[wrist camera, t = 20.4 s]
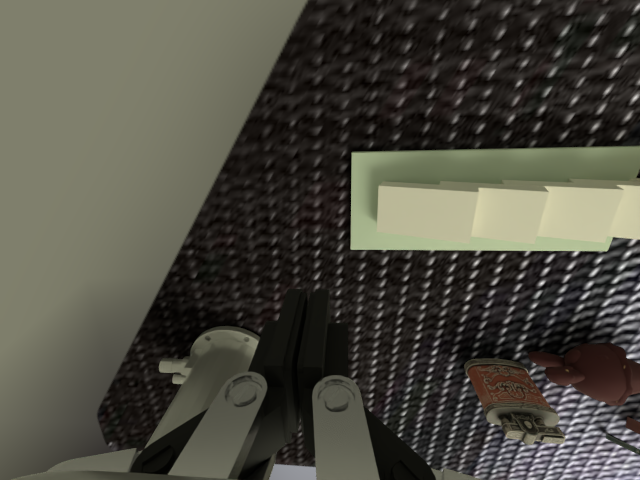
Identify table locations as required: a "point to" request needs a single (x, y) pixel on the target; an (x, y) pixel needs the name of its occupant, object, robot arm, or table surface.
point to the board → (478, 169)
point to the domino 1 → (427, 210)
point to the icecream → (593, 371)
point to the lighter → (513, 401)
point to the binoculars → (632, 425)
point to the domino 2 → (507, 211)
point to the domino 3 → (577, 209)
